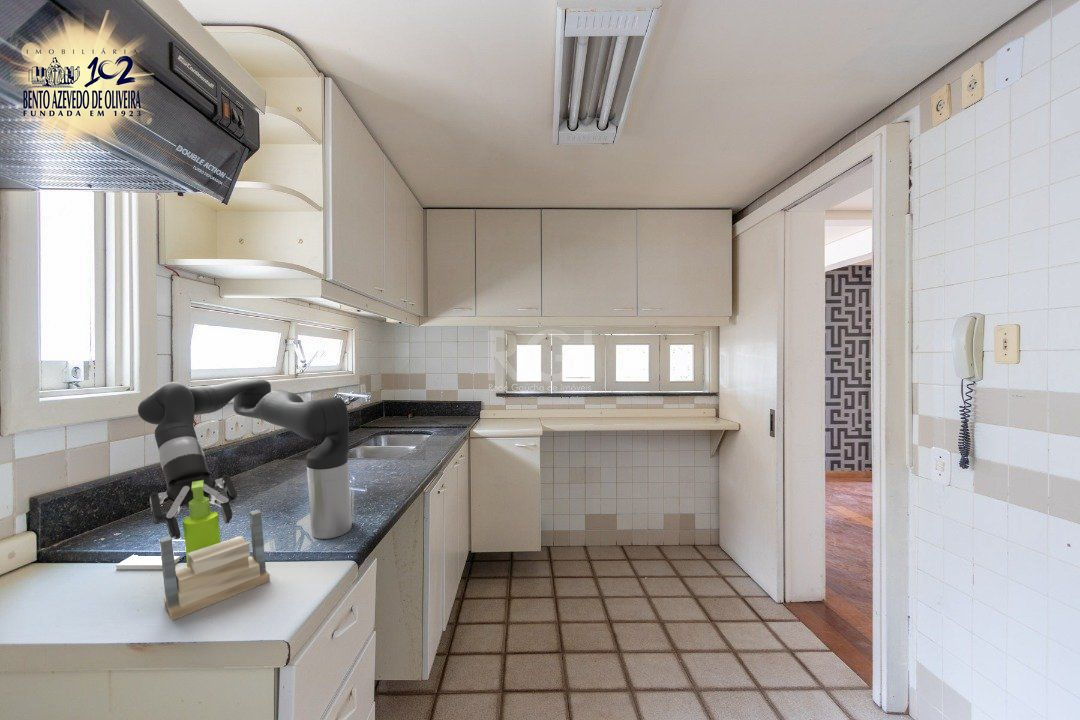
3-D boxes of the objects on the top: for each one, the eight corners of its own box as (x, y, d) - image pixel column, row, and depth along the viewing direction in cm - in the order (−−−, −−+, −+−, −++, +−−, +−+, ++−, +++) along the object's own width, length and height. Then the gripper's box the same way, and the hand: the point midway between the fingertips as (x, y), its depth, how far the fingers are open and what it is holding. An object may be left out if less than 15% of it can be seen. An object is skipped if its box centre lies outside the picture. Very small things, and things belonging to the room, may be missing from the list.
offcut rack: (164, 606, 88) (156, 535, 86) (259, 570, 100) (254, 506, 98) (172, 620, 84) (164, 545, 82) (269, 580, 96) (264, 514, 94)
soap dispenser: (223, 564, 102) (214, 475, 100) (223, 579, 97) (214, 485, 94) (189, 573, 99) (180, 481, 97) (188, 589, 93) (178, 492, 91)
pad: (159, 543, 112) (158, 539, 112) (204, 543, 111) (204, 539, 111) (116, 569, 101) (116, 564, 101) (166, 569, 100) (166, 565, 100)
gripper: (219, 463, 109) (240, 525, 103) (140, 481, 99) (157, 551, 92) (224, 445, 105) (246, 508, 99) (142, 461, 95) (160, 533, 88)
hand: (203, 529), depth 96 cm, fingers open, 8 cm apart
